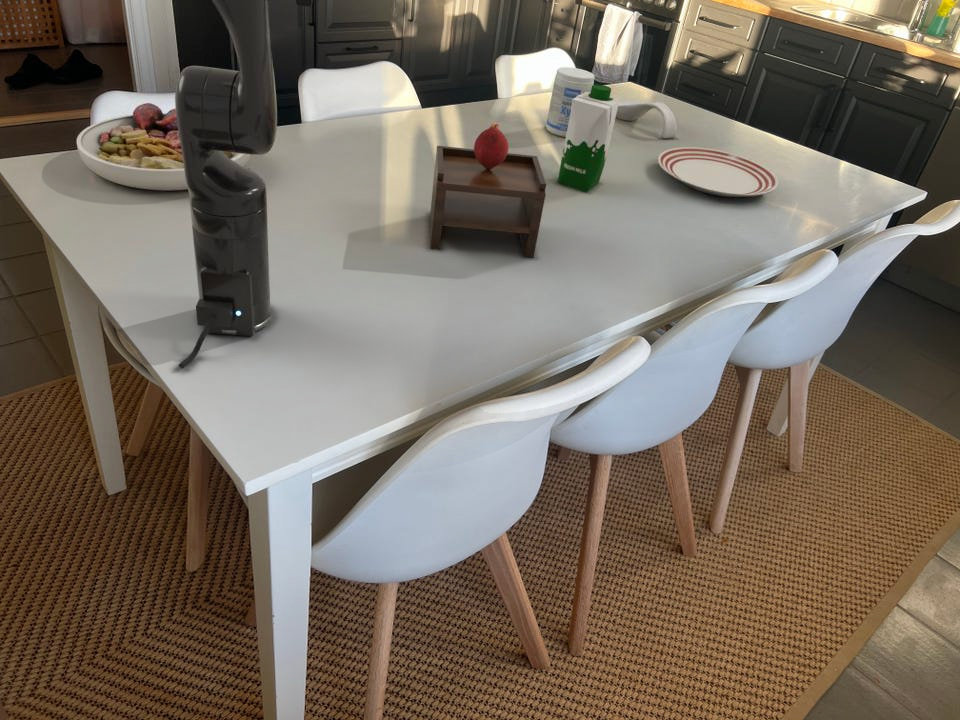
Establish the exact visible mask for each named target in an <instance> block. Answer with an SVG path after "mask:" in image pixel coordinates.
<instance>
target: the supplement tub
mask: <svg viewBox="0 0 960 720" xmlns="http://www.w3.org/2000/svg"><path fill="white" fill-rule="evenodd" d="M594 83H595V74H594V73H592V72H590V71H588V70H585V69H582V68H576V67H569V66H562V67H558V68H557V70H556V74H555V76H554V81H553V87H552V92H551V98H550V102H549V108H548V113H547V118H546V122H545V123H546V124H545V128H546V130H547V131H548V133H551V134H553V135H555V136H559V137H562V138H563V137H564V138H566V134H567V129H568V124H569V119H570V113H571V106H572V99H574V98H576V96H578V95H580V94H582V93H584V92H589V93H591V88H592V85H595V84H594Z"/></svg>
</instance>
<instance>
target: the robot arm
mask: <svg viewBox="0 0 960 720" xmlns="http://www.w3.org/2000/svg"><path fill="white" fill-rule="evenodd" d="M211 2H212V3H213V5H214V7H215V8H216V10H217V12H218V13H219V15H220V17H221V19H222V21H223V22H224V24H225V27H226V29H227V31H228V34H229V36H230V38H231V41H232V43H233V47H234V50H235V55H236V57H237V62H238V67H239V68H238V69H239V70H235V69H234V70H233V69H226V68H218V67H209V66H203V65H190V66H186V67H185V68H183V69H182V71H181V72H180V74H178V79H177V81H176V84H175V95H174V103H175V104H174V106H175V107H174V109H175V108H176V118H177V126H178V132H179V138H180V144H181V150H182V156H183V163H184V171H185V179H186V184H187V188H188V189H187V190H188V191H187V192H188V199H189V207H190V218H191V230H192V238H193V239H192V240H193V250H194V261H195V270H196V280H197V281H196V282H197V290H198V292H197V293H198V300H197V303H196V305H195V311H196V312H195V313H196V320H197V321H196V323H197V326H204V327H203V329H202V331H201V333H200V335H199V336H198V339H197V340H196V343H195V345H194V347H193V349H192V351H191V353H190V354H189V355H188V356H187V357H186V358H185V359H183V360H182V361H181V362H180V363H179V364H178V367H179V368H180V369H184V368H185V367H187V366H188V365H189V364H191V362H192V361H194V359H195V358H196V357H197V356H198V354H199V352H200V350H201V348H202V345H203V344H204V341H205V339H206V338H207V336H208V334H218V335H228V336H232V335H233V336H245V337H253V336H254V334H255V333H256V332H258V331H259V330H262V329H263V328H265V327H266V326H268V324H269V323H270V322H271V320H272V317H273V315H272V307H271V287H270V286H271V285H270V282H271V281H270V259H269V258H270V257H269V256H270V255H269V230H268V229H269V228H268V200H267V199H268V198H267V197H268V196H267V186H266V183H265V181H264V179H263V178H262V177H261V175H259V174H258V173H256V172H254V171H253V170H251V169H249V168H247V167H246V166H245V167H243V166H241V165H239V164H237V163H236V162H234V161H233V160H231V159H230V158H229V157H227V156H226V155H225V154H224V153H223V152H222V151H224V152H233V153H241V154H250V156H251V155H253V156H254V155H255V156H262V155H266V154H268V153H269V152H270V151H272V149H273V146H274V143H275V141H276V135H277V129H278V107H277V105H278V104H277V93H276V92H277V91H276V80H275V72H274V71H275V70H274V61H273V52H272V51H273V50H272V39H271V30H270V29H271V28H270V15H269V0H211ZM295 4H296V5H297V6H301V7H307V8H308V7H309V8H310V7H311V6H312V5H313V0H295Z"/></svg>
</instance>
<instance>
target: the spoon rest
mask: <svg viewBox="0 0 960 720" xmlns="http://www.w3.org/2000/svg"><path fill="white" fill-rule="evenodd" d="M612 98H613V97H612ZM613 99H614V100H619V105H618V109H617V113H616V117H615V118H617V119H618V120H619V119H620V120H623V121H627V122H628V121H629V122H632V121H636V120H637V119H640V118H642V117H643V116H645V115H646V114H647V113H649V111H651V110H652V109H656V110H657V111H658V112H659V113H660V114H661V116H662V118H663V128H662V129H663V130H662V132H661V138H662V139H671V138H675V137H676V136H677V127H678V126H677V122H676V121H677V120H676V118H675V116H674V113H673V112H672V110H671V109H670V108H669V107H668V106H667V105H666V104H665V103H663V102H661V101H656V102H646V101H642V100H638V99H634V98H633V99H632V98H627V97H625V98H624V97H623V98H622V97H614V98H613Z"/></svg>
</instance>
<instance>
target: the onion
mask: <svg viewBox="0 0 960 720" xmlns="http://www.w3.org/2000/svg"><path fill="white" fill-rule="evenodd" d="M499 126H500V125H499V124H498V123H497V122H493V123H491V125H490V126H489V127H488V128H487V129H484V130H483V131H482V132H480V133H479V135H478V136H477V137H476V139H475V141H474V145H473V149H474V153H475V156H476V159H477V160H478V162H479V163H480V164H481V165H482V166H484V167H485V168H486V169H488V170H490V169H492V168H494V167H495V166H497V165H499V164H500V163H502V162H503V161H504V160H505V158H506V156H507V153H509V143H508V139H507V137H506V136H505V134H504V133H503V132H502V131H501V130H500V129H499Z"/></svg>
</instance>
